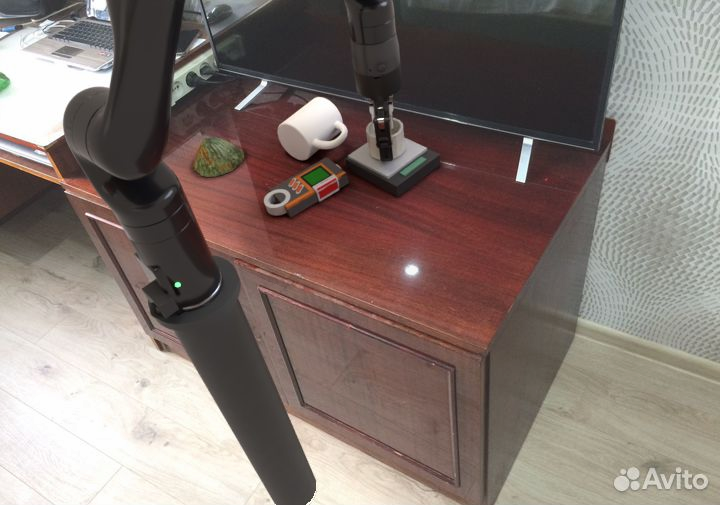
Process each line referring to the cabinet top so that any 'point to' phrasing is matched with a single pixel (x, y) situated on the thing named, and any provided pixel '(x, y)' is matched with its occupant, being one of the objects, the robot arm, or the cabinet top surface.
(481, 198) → the cabinet top surface
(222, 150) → the seashell
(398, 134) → the beige cylindrical cup
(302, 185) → the electronic device
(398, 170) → the scale
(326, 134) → the mug
